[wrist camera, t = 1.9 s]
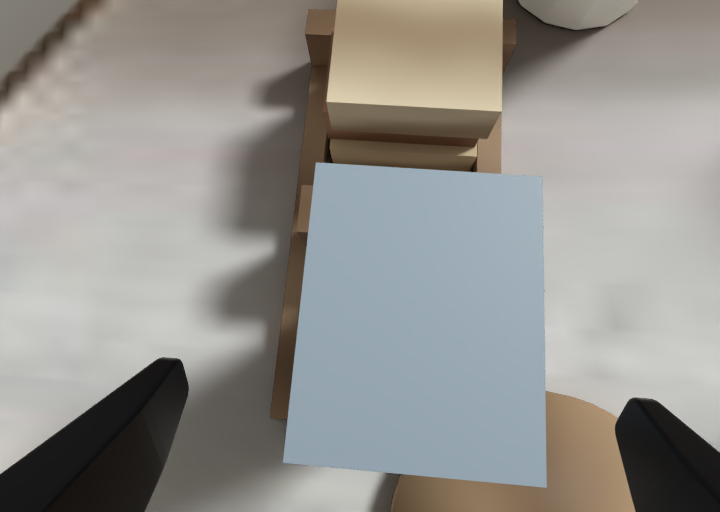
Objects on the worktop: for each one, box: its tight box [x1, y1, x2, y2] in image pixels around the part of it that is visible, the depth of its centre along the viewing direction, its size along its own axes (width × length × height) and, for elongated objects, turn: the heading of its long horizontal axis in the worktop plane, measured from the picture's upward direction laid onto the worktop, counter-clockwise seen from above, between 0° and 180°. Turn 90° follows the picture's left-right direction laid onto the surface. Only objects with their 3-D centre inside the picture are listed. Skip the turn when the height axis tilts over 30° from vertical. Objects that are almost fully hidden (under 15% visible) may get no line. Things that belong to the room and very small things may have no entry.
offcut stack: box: [323, 0, 503, 172], centre depth 17 cm, size 4×6×6 cm
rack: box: [270, 9, 516, 420], centre depth 16 cm, size 16×9×5 cm, turn 175°
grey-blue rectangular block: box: [283, 162, 547, 488], centre depth 12 cm, size 4×3×12 cm
